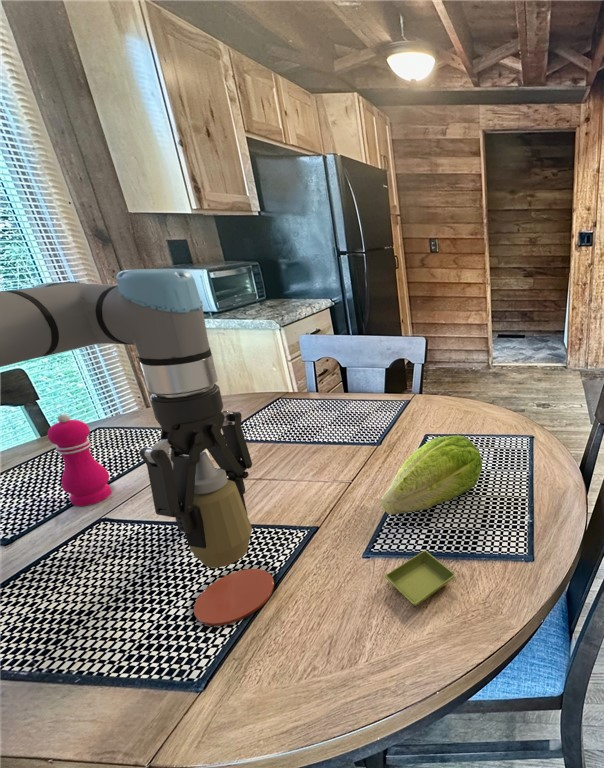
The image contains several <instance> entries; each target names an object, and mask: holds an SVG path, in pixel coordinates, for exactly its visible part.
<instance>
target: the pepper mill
mask: <svg viewBox="0 0 604 768" xmlns="http://www.w3.org/2000/svg"><path fill="white" fill-rule="evenodd" d="M57 421H58V422H56V423H54V424H53V425H51V426H50V427H49V428H48V430H47V434H46V435H47V439H48V441H49V442H50V443H52V444H53V445H56V446H55V450H56V452H57V454H59V455H61V456H62V458H63V459H62V460H63V462H64V463H63V464H64V467H63V473H62V476H61V487H62V490H63V492H65V493H67V494H70V495H69V499H70V502H71V504H72V505H73V506H76V507H85V506H90V505H94V504H98V503H100V502H102V501H104V500H106V499H107V498H109V497H110V496H111V494H112V489H111V487H110V484H108V482H109V480H110V474H109V472H108V470H107V469H106V468H105V467H104V466H103V465H101V464H100V463H99V462H98V461H97V460H96V459H95V458H94V457H93V455H92V452H91V450H90V449H91V448H90V447H91V446H92V443H91V442H90V439H89V438H88V437H89V435H90V432H91V431H90V428H89V425H88V424H86V423H85V422H84V421H82V420H79V419H71V416H70V415H68V414H66V413H62V414H60V415H58V416H57Z"/></svg>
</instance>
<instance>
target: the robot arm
mask: <svg viewBox="0 0 604 768" xmlns="http://www.w3.org/2000/svg"><path fill="white" fill-rule="evenodd" d="M116 282H117V284H105V283H103V284H102V283H87V282H86V283H85V282H79V281H64V282H45V283H40V284H36V285H34V286H33V287H31V288H24V289H23V288H22V289H14V290H0V368H3V367H6V366H10V365H14V364H18V363H23V362H26V361H30V360H33V359H34V360H35V359H39V358H45V357H49V356H53V355H57V354H61V353H66V352H69V351H75V350H78V349H82V348H86V347H91V346H94V345H102V344H103V345H105V344H106V345H108V344H110V345H111V344H112V345H129V346H130V345H131V346H133V345H134V348H135V350H136V353H137V358H138V361H139V364H140V368H141V371H142V374H143V378H144V382H145V386H146V389H147V391H148V392H149V393H151V395H150V397H149V401H150V404H151V408H152V412H153V416H154V419H155V421H156V422H157V423H158V424H159V426H160V428H161V433H160V436H159V437H160V438H159V439H160V440H159V441H158V442H156V443H155V444H154V445H152V446H151V447H148V446H147V447H146V446H145V447H142V448H141V449H140V450H139V457H140V458H141V459H142V460H143V462H144V463H145V465H146V468H147V474H148V479H149V484H150V488H151V494H152V495H151V496H152V499H153V505H154V510H155V511H154V512H155V514H156V515H157V516H163V517H169V518H175V521H176V525H177V528H178V530H179V532H181V533H184V534H185V538H186V541H187V544H188V546H189V547H190V546H194V547H199V548H204V549H205V548H206V541H205V533H204V526H203V520H202V516H201V512H200V508H199V507H194V506H193V500H194V487H195V475H196V464H197V463H198V462H199V461H200V453H202V452H203V451H204V450H205V449H207V450H208V452H209V455H210V456H211V457H212V458H213V460H214V462H215V463H216V464H217V466H218V468H221V469H223V470H225V472H226V475H227V479H228V480H231V481H233V482H235V484H236V486H237V489H238V491H239V494H240V497H241V500H242V502H243V505H244V508H245V510H246V513H247V516H248V509H247V505H246V501H245V497H244V495H245V493H246V487H245V481H244V480H245V479H247V478H248V477H249V472H248V471H246V470H247V469H248V470H249V469H251V468H252V467H253V461H252V457H251V453H250V452H249V448H248V444H247V441H246V437H245V434H244V431H243V428H242V413H241V412H240V411H234V410H223V409H224V402H223V397H222V393H221V389H220V386H219V385H218V384H216V383H217V382H218V375H217V370H216V366H215V362H214V357H213V353H212V349H211V347H210V343H209V337H208V333H207V327H206V319H205V315H204V309H203V307H204V304H203V301H202V300H201V297H200V294H199V290H198V287H197V283H196V281H195V278H194V277H193V275H192V274H191V273H190V272H189V271H187V270H184V269H177V268H137V269H126V270H121V271H119V272H118V273H117V275H116ZM169 448H171V454H170V453H169ZM183 454H184V455H183ZM185 455H189V456H185ZM170 457H171V461H172V462H173V468H172V464H171V461H170V459H169V458H170Z"/></svg>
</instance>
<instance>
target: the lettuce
mask: <svg viewBox="0 0 604 768" xmlns="http://www.w3.org/2000/svg"><path fill="white" fill-rule="evenodd" d="M482 471H483V461H482V456H481V452H480V451H479V449H478V447H476V445H475V444H474V443H473V442H472V441H471V440H470V439H468V438H467V437H466V436H463V435H460V434H459V435H446V436H438V437H434V438H432V439H431V440H428V441H427V442H425V443H424V444H423V445H421V446H420V447H418V448H417V449H415V451H414V452H413V453H412V454H411V455H410V456H409V457H408V458H407V459H406V460H405V461H404V463H403V464H402V465H401V467H400V468H399V470H398V471H397V473H396V474H395V476H394V478H393V480H392V482H391V484H390V486H389V487H388V489H387V490H386V491H385V492H384V494H383V495H382V496H381V498H380V504H381V507H382V508H383V510H384V512H385V513H387V515H391V516H392V515H400V514H405V513H413V512H419V511H426V510H428V509H431V508H432V507H435V506H436V505H438V504H442V503H445V502H448V501H451V500H452V499H455V498H457V497H459V496H461V495H463V494H465V493H467V492H469V491H470V490H471V489H473V488H474V487H475V486H476V485H477V483H478V481H479V479H480V476H481V474H482Z"/></svg>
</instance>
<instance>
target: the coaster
mask: <svg viewBox="0 0 604 768" xmlns="http://www.w3.org/2000/svg"><path fill="white" fill-rule="evenodd" d="M274 589H275V580H274V577H273V575H272V574H271V573H270V572H269V571H267V570H265V569H261V568H246V569H241V570H237V571H234V572H231V573H229V574H226V575H224V576H222V577H220V578H218V579H217V580H215V581H213V582H212V583H211V584H210V585H208V586H207V587H206V588H205V589H204V590H203V591H202V592H201V593H200V594H199V596H198V597H197V599H196V601H195V603H194V606H193V614H194V616H195V619H196V621H197V622H199V623H200V624H202V625H205V626H207V627H208V626H209V627H221V626H227V625H231V624H234V623H237V622H239V621H242V620H243V619H247V617H249V616H251V615H253V614H254V613H256V612H257V611H259V610H260V608H261V607H263V606H264V605H265V604H266V603H267V602H268V601H269V600H270V598H271V596H272V594H273V592H274Z"/></svg>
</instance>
